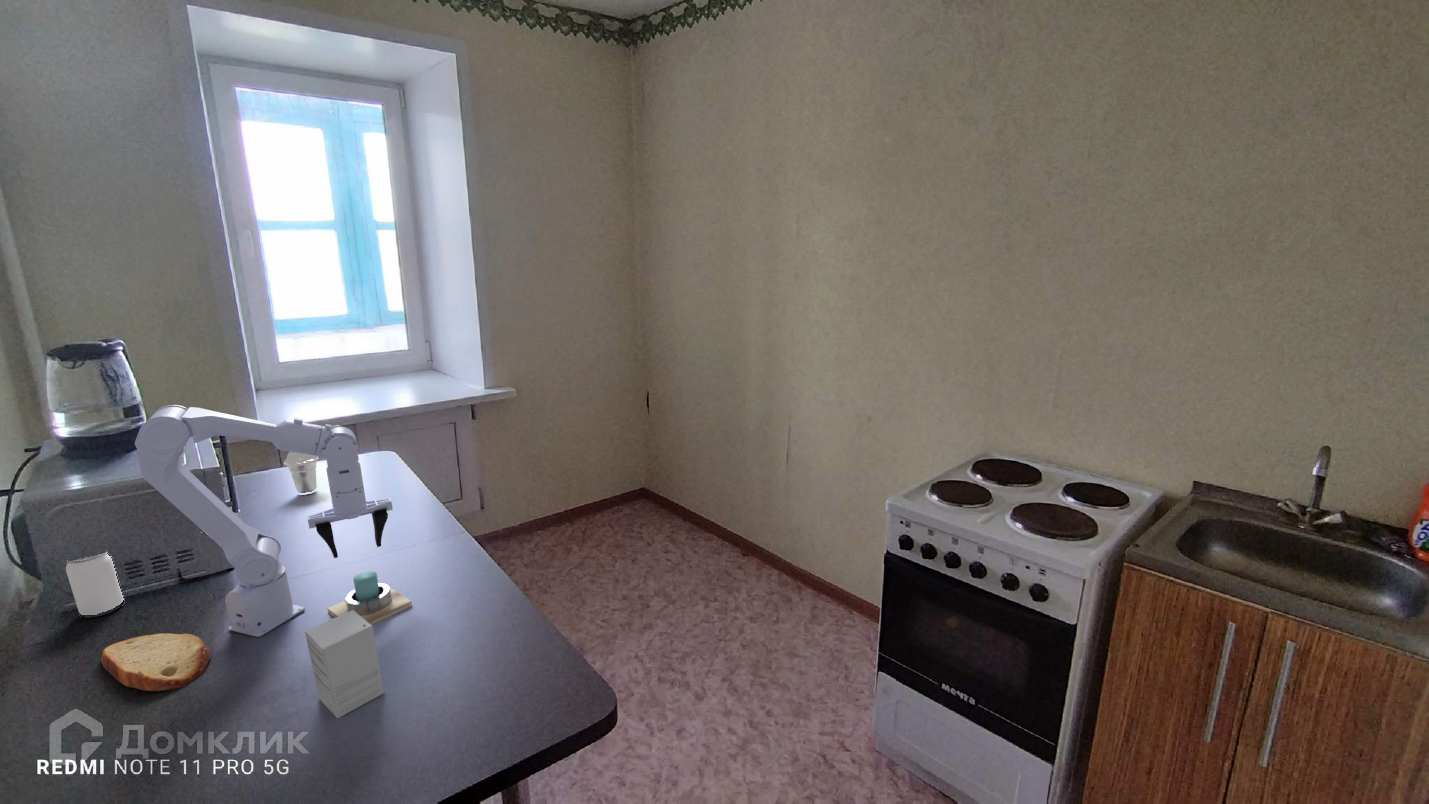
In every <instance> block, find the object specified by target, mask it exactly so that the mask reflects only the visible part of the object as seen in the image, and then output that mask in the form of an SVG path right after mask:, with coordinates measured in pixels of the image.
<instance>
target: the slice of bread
mask: <svg viewBox="0 0 1429 804" xmlns="http://www.w3.org/2000/svg"><path fill="white" fill-rule="evenodd" d="M211 658H212V653H211V651H210V648H209V647H208V646H207V644H206V643H205V642H204V641H203V640H202V639H201V638H200V637H199V636H196V635H194V634H190V633H181V634H180V633H179V634H178V633H170V632H169V633H167V632H166V633H165V632H164V633H154V634H148V635H145V634H144V635H141V636H136V637H131V638H128V639H125V640H122V641H119V642H115V643H112V644H110V645H108V646H107V647H105V648H104V649H103V651H102V655H101V659H100V660H101V661H102V662H101V661H100V662H101V665H102V666H103V669H104V668H105V669H106V670H105V669H104V670H105V671H106V672H107V671H108V672H109V673H108V672H107V673H108V674H110V675H111V676H112V677H113V678H114V679H115V680H116V681H117V682H118V683H120V684H121V685H123V686H125V687H127V688H133V689H137V690H139V691H146V692H165V691H166V692H167V690H168V691H172V690H175V689H180V688H181V689H182V688H184V687H185V686H188V685H190V683H192V682H194V681H195V680H196V679H198V678H199V677H201V676H202V675H203V674H204V673H205V672H206V670H207V666H208V664H209V661H210V659H211Z"/></svg>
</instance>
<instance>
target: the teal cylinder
mask: <svg viewBox="0 0 1429 804" xmlns="http://www.w3.org/2000/svg"><path fill="white" fill-rule="evenodd" d="M378 583H379V579H378V574H377V572H376V571H371V570H370V571H364V572H360V573H359V574H356V575H355V576H354V577H353V585H354V589H355V592H356V599H357V601H359V602H360V601H368V600H371V599H373V598H376V597H378V596H379V595H380V592H379V586H378Z"/></svg>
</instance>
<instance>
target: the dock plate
mask: <svg viewBox="0 0 1429 804" xmlns="http://www.w3.org/2000/svg"><path fill="white" fill-rule="evenodd" d="M389 588H390V592H391V598H392V600H391V602H390V604H389V605H388V606H387V607H385V608H384V609H382V610H380V611H378V612H376V613H373V614H370V615H363V616H361V617H362V618H363V619H364V620H366V621H367V622H368V623H369V624H371V625H372V626H373V625H374V624H377V623H379V622H380V621H382V620H385V619H386V618H389V617H391V616H393V615H395V614H398V613H399V612H401V611H404V610H405V609H407V608H409V607H412V606H413V605H412V604H413V603H412V601H411V600H410V599H409V598H407V597H406V596H404V595H402V594H401V593H399V591H398V592H397V590H396V589H393V588H392V587H391V586H389ZM327 612H328V614H329V615H331V616H332V617H333V618H336V617H338V616H340V615H342V614H345V613H347V612H348V611H347V606H346V600H343V601H340V602H338V603H336V604H333V605H331V606H328V607H327Z"/></svg>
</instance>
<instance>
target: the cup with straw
mask: <svg viewBox="0 0 1429 804" xmlns="http://www.w3.org/2000/svg"><path fill="white" fill-rule="evenodd" d="M318 460H320V458H319V456H315V455H309V454H303V453H296V452H290V451H288V453H287V456H286V459H284V461H283V466H285V467H287V469H288V471H289V473H290V475H291V477H292V480H293V483H294V486H295V489H296V491H297V493H298V492H299V493H306V492H312V491H314V490H315V489H316V490H317V487H318V486H317V461H318Z"/></svg>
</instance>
